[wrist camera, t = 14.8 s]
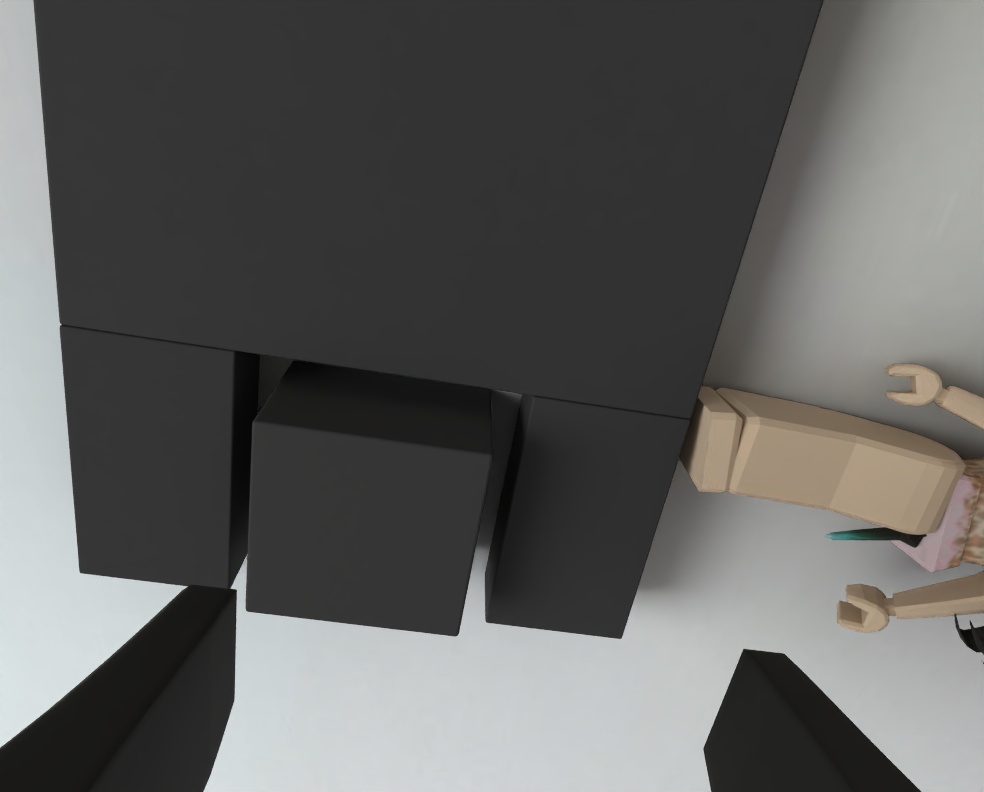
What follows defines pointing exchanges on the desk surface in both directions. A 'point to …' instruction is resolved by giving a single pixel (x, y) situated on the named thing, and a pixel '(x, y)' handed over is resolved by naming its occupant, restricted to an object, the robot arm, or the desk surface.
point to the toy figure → (858, 485)
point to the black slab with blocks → (403, 250)
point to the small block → (367, 498)
